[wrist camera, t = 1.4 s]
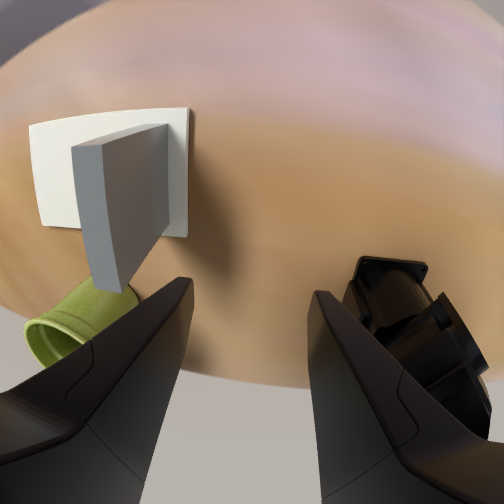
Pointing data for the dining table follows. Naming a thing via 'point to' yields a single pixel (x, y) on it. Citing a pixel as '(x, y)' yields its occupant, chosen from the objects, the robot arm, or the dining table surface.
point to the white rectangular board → (93, 126)
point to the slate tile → (121, 200)
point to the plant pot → (75, 321)
